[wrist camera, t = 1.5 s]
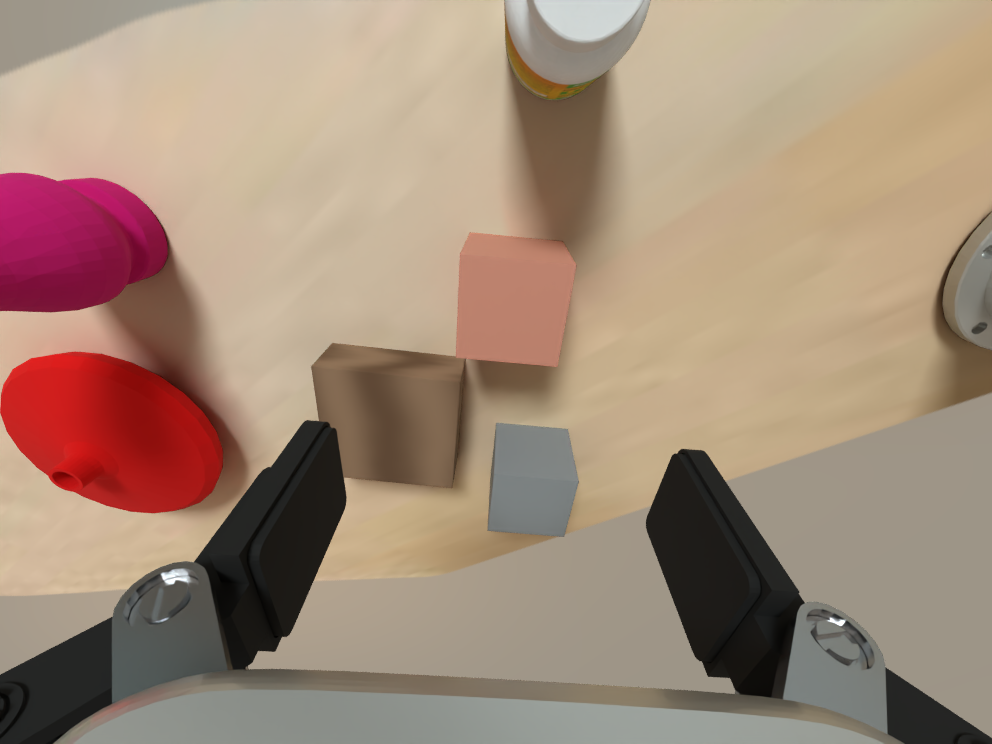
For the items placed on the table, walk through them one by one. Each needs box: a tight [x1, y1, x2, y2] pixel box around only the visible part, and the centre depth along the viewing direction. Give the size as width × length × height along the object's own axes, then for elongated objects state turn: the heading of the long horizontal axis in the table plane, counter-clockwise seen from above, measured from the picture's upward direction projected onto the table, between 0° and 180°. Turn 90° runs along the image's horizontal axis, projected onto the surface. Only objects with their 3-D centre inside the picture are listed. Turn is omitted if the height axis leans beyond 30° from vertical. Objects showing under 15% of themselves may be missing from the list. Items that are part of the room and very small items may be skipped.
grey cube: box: [488, 423, 579, 537], centre depth 32 cm, size 6×6×6 cm
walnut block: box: [311, 343, 465, 488], centre depth 31 cm, size 10×10×4 cm
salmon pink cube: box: [456, 232, 576, 367], centre depth 24 cm, size 6×6×6 cm
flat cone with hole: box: [0, 352, 223, 513], centre depth 31 cm, size 16×16×7 cm
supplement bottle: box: [504, 0, 651, 100], centre depth 16 cm, size 5×5×10 cm
